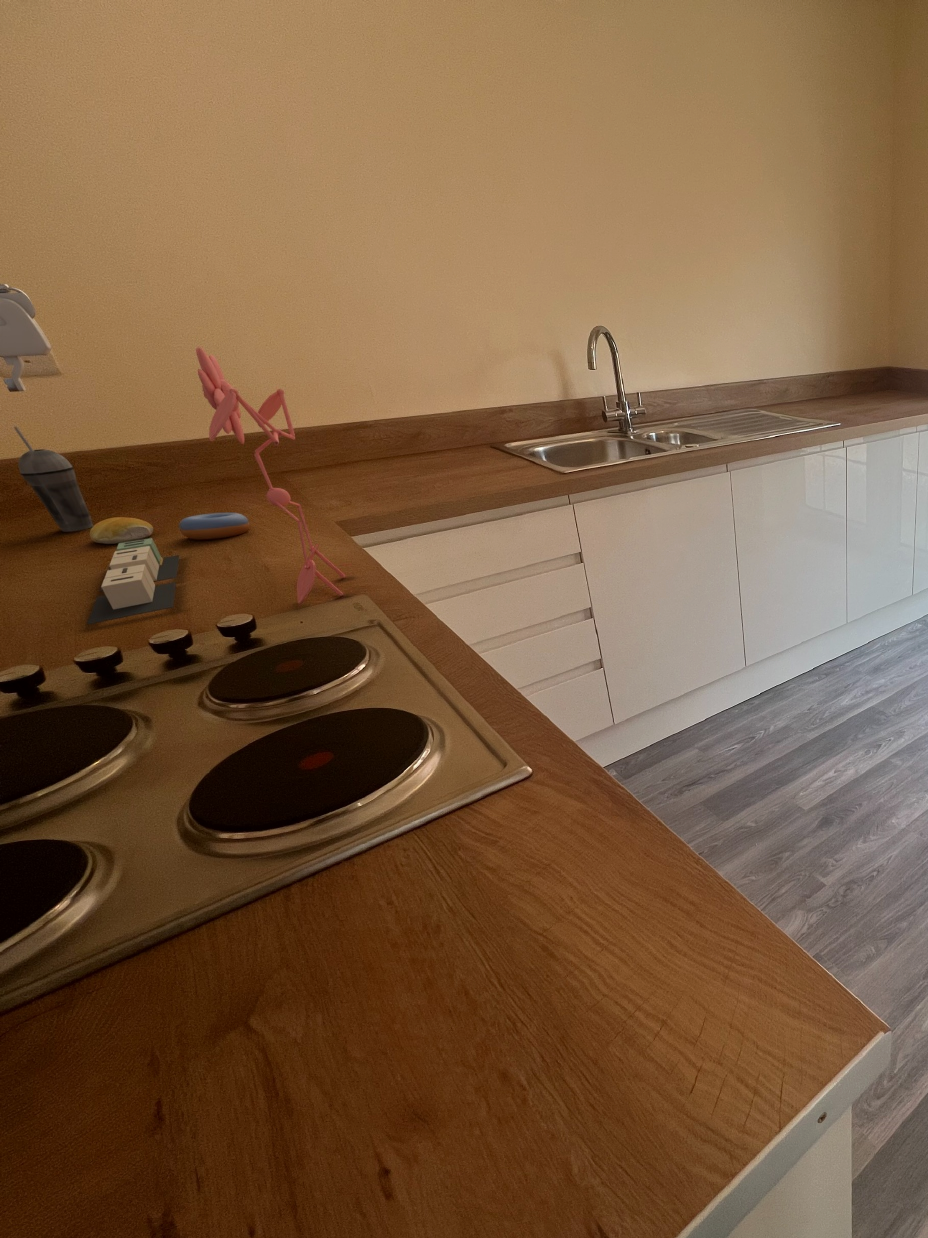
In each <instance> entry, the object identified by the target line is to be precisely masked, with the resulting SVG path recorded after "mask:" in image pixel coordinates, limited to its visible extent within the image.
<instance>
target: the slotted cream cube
mask: <svg viewBox="0 0 928 1238" xmlns="http://www.w3.org/2000/svg"><path fill="white" fill-rule="evenodd" d="M143 564H145V566H146V568H147V570H148V572H149V574H150V576H151V578H152V580H153V581H156V580H157V575H158V573H157V571H156V569H155V567H154V565H153V563H152V560H151V558H150V556H149V554H148V553H143V554H137V555H130V556H124V557H118V558H113V557H112V558H111V561H110V563H109V564H108V565H109V566H108V567H110V568H111V569H112V570H113V569H119V568H125V567H131V566H137V565H143ZM156 582H157V581H156Z"/></svg>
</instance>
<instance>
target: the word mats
mask: <svg viewBox="0 0 928 1238" xmlns="http://www.w3.org/2000/svg"><path fill="white" fill-rule="evenodd" d="M179 560H180V554H176V555H171V556H165V557H161V563H160V564H158V565H159V570H158V575H157V580H156V581H153V582H154V583H156V582H161V581H166V580H172V579H177V576H178V569H179V562H180V561H179ZM108 570H112V569H111V568H110V566H108V567H107V571H108ZM107 571H106V572H107ZM103 578H104V579H105V577H103ZM104 579H103V580H104ZM176 584H177V581H174V582H167V583H163V584H157V585H155V589H154V595H153V600H152V602H150V603H144V604H139V605H134V606H129V607H124V608H119V609H113V608H112V606H111V604H110V602H109V600H108V599H107V597H106V595H105V594H104V595H98V596H97V597H96V598H95V601H94V604H93V606H92V609H91V612H90V614H89V617H88V619H87V622H86V624H85V625H91V624H97V623H101V622H108V621H111V620H117V619H122V618H126V617H132V616H138V615H142V614H146V613H147V614H148V613H152V612H156V611H162V610H165V609H166V610H167V609H171V608H174V601H175V594H176V587H177V586H176ZM98 592H99V593H100V592H101V593H102V592H104V591H103V589H102V587H101V586H100V589H99V591H98Z"/></svg>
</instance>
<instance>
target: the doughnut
mask: <svg viewBox="0 0 928 1238" xmlns="http://www.w3.org/2000/svg"><path fill="white" fill-rule="evenodd" d="M249 522H250V521H249V519H248V518H247V517H246V516H245V515H243V514H241V513H238V512H215V513H214V512H213V513H205V514H197V515H192V516H188V517H185V518H183V519H182V520H180V522H179V524H178V526H179V531H180V534H182V536H183V537H186V538H188V539H191V540H198V541H199V540H204V541H205V540H217V539H227V538H233V537H236V536H237V537H238V536H239V535H243V534H245V533H247V532H248V531H249V529H250V523H249Z"/></svg>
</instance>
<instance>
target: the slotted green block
mask: <svg viewBox="0 0 928 1238" xmlns="http://www.w3.org/2000/svg"><path fill="white" fill-rule="evenodd" d="M146 546H150V548H151V550H152V552H153V554H154V556H155V558H156V561H157V563H158V564H160V563H161V558H162V556H161V554H160V552H159V549H158V547H157V546H156V544H155V541H154V540H153V538H152V537H150V538H143V539H139V540H135V541H130V542H124V543H118V544H117V547H116V551H121V550H127V549H133V548H140V547H146Z"/></svg>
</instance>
